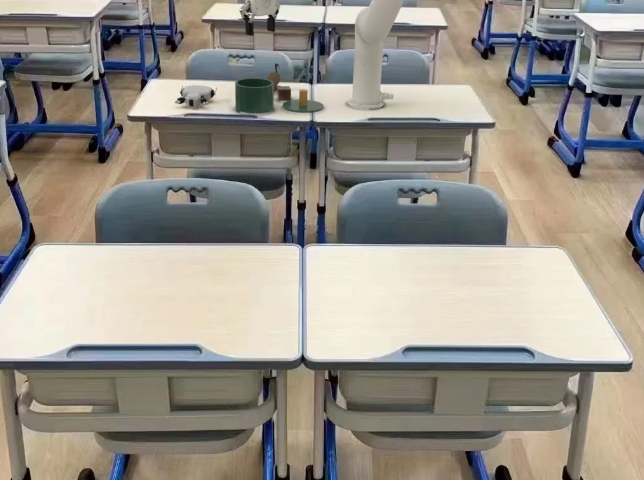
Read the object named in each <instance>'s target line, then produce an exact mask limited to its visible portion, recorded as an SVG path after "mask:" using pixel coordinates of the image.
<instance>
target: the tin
mask: <svg viewBox="0 0 644 480" xmlns="http://www.w3.org/2000/svg"><path fill="white" fill-rule="evenodd" d="M234 100H235V111H236V112H237V113H238V114H241V113H243V114H252V115H254V114H255V115H257V114H258V115H259V114H261V115H262V114H267V113H270V112H272V111H273V110H274V109H275V93H274V83H273V81H271V80H268V79H267V78H260V77H246V78H240V79H237V80H236V81H235V82H234Z"/></svg>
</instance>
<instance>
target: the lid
mask: <svg viewBox="0 0 644 480" xmlns="http://www.w3.org/2000/svg"><path fill="white" fill-rule="evenodd" d="M298 91H299V92H298V99H291V101H284V102H282V108H283V110H286V111H288V112H294V113H299V114H300V113H301V114H305V113H306V114H307V113H316V112H320V111H322V110H323V109H324V104H323V103H322V102H320V101H317V100H313V99H308V95H309V92H308V91H309V90H308V89H306V88H301V89H299V90H298Z"/></svg>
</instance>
